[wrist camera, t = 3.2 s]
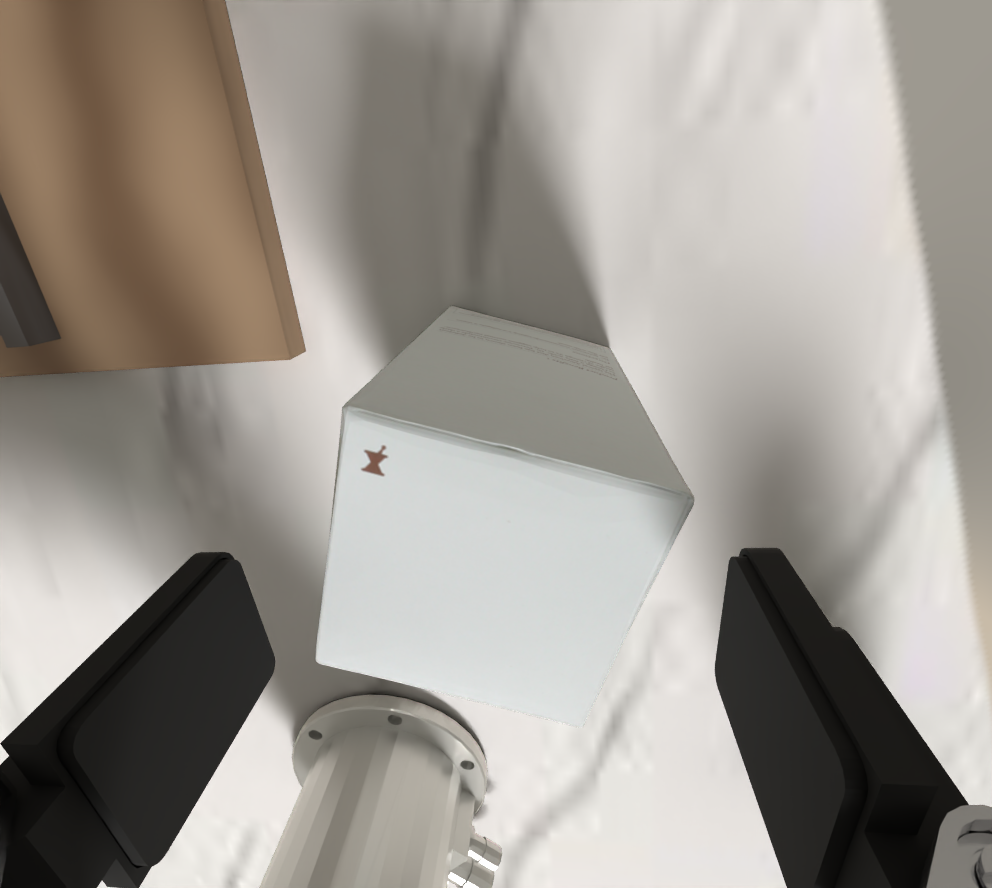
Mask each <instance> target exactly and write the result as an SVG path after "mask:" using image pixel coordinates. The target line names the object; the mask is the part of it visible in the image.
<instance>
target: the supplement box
mask: <svg viewBox="0 0 992 888" xmlns="http://www.w3.org/2000/svg"><path fill="white" fill-rule="evenodd" d="M693 505H694V496H693V494H692V493H691V491H690V489H689V488H688V486H687V485H686V483H685V481H684V479H683V478H682V476H681V474H680V472H679V471H678V469H677V467H676V465H675V464H674V462H673V460H672V458H671V456H670V455H669V453H668V451H667V449H666V448H665V446H664V444H663V442H662V440H661V439H660V437H659V435H658V433H657V431H656V429H655V428H654V426H653V424H652V422H651V421H650V419H649V417H648V415H647V413H646V411H645V409H644V408H643V406H642V404H641V402H640V400H639V399H638V397H637V395H636V393H635V391H634V390H633V388H632V386H631V384H630V383H629V381H628V379H627V377H626V375H625V374H624V372H623V370H622V368H621V366H620V365H619V363H618V361H617V359H616V358H615V356H614V354H613V352H612V350H611V349H610V348H608V347H605V346H601V345H598V344H595V343H591V342H588V341H584V340H581V339H577V338H574V337H570V336H566V335H562V334H559V333H555V332H551V331H547V330H543V329H539V328H536V327H532V326H528V325H524V324H520V323H516V322H512V321H509V320H505V319H501V318H497V317H493V316H489V315H485V314H481V313H478V312H474V311H470V310H466V309H462V308H458V307H455V306H450V307H449V308H448V309H447V310H446V311H445V312H443V313H442V314H441V315H440V316H439V317H438V318H437V319H436V320H435V321H434V322H433V323H432V324H431V325H430V326H429V327H427V328H426V329H425V330H424V331H423V332H422V333H421V334H420V335H419V336H418V337H417V338H416V339H415V340H413V341H412V342H411V343H410V344H409V345H408V346H407V347H406V348H405V349H404V350H403V351H402V352H401V353H400V354H399V355H398V356H396V357H395V358H394V359H393V360H392V361H391V362H390V363H389V364H388V365H387V366H386V367H385V368H384V369H382V370H381V371H380V372H379V373H378V374H377V375H376V376H375V377H374V378H373V379H372V380H371V381H370V382H369V383H367V384H366V385H365V386H364V387H363V388H362V389H361V390H360V391H359V392H358V393H357V394H355V395H354V396H353V397H352V398H351V399H350V400H349V401H348V402H347V403H346V404H345V405H344V406H343V407H342V417H341V429H340V440H339V450H338V460H337V470H336V479H335V489H334V498H333V508H332V518H331V528H330V538H329V547H328V555H327V563H326V571H325V579H324V587H323V596H322V604H321V612H320V619H319V628H318V635H317V644H316V655H315V660H316V661H317V662H318V663H319V664H322V665H326V666H330V667H334V668H338V669H342V670H347V671H352V672H356V673H360V674H365V675H369V676H373V677H377V678H381V679H386V680H390V681H394V682H398V683H402V684H406V685H410V686H414V687H418V688H422V689H426V690H430V691H434V692H438V693H442V694H447V695H451V696H455V697H459V698H463V699H467V700H471V701H475V702H479V703H483V704H487V705H491V706H495V707H499V708H503V709H507V710H511V711H515V712H519V713H523V714H527V715H531V716H535V717H539V718H543V719H547V720H551V721H555V722H559V723H562V724H566V725H570V726H574V727H578V728H581V727H584V724H585V722H586V720H587V718H588V716H589V713H590V711H591V709H592V707H593V705H594V703H595V701H596V699H597V697H598V694H599V692H600V690H601V688H602V686H603V684H604V682H605V680H606V677H607V675H608V673H609V671H610V669H611V667H612V665H613V663H614V660H615V658H616V656H617V654H618V652H619V650H620V648H621V646H622V643H623V641H624V639H625V637H626V635H627V633H628V631H629V629H630V627H631V625H632V623H633V621H634V619H635V617H636V616H637V614H638V612H639V610H640V608H641V606H642V604H643V602H644V600H645V598H646V596H647V594H648V592H649V590H650V588H651V586H652V584H653V582H654V580H655V579H656V577H657V575H658V573H659V571H660V569H661V567H662V565H663V563H664V561H665V559H666V557H667V555H668V553H669V551H670V549H671V547H672V545H673V543H674V541H675V539H676V537H677V535H678V533H679V531H680V529H681V528H682V526H683V524H684V522H685V520H686V518H687V516H688V514H689V512H690V510H691V509H692V507H693Z"/></svg>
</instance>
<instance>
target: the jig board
mask: <svg viewBox="0 0 992 888" xmlns="http://www.w3.org/2000/svg"><path fill="white" fill-rule="evenodd" d="M305 351H306V350H305V346H304V341H303V337H302V333H301V328H300V324H299V320H298V315H297V311H296V307H295V302H294V298H293V294H292V289H291V285H290V281H289V276H288V272H287V268H286V263H285V259H284V255H283V250H282V246H281V242H280V237H279V233H278V229H277V224H276V220H275V216H274V211H273V207H272V203H271V198H270V194H269V190H268V185H267V181H266V177H265V172H264V168H263V164H262V159H261V155H260V151H259V146H258V142H257V138H256V133H255V129H254V125H253V120H252V116H251V112H250V107H249V103H248V99H247V94H246V90H245V86H244V81H243V77H242V73H241V68H240V64H239V60H238V55H237V51H236V47H235V42H234V38H233V34H232V29H231V25H230V21H229V16H228V12H227V8H226V3H225V0H0V377H9V376H26V375H42V374H59V373H76V372H92V371H109V370H126V369H142V368H159V367H175V366H192V365H209V364H225V363H242V362H259V361H275V360H290V359H292V358H294V357H296V356H298V355H300V354H302V353H304V352H305Z"/></svg>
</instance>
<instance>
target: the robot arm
mask: <svg viewBox="0 0 992 888" xmlns="http://www.w3.org/2000/svg"><path fill="white" fill-rule="evenodd" d="M274 667H275V657H274V654H273V651H272V648H271V646H270V643H269V640H268V637H267V635H266V632H265V629H264V626H263V624H262V621H261V618H260V615H259V613H258V610H257V607H256V604H255V602H254V599H253V596H252V593H251V591H250V588H249V585H248V582H247V580H246V577H245V574H244V571H243V569H242V566H241V564H240V562H239V561H237V560H234V558H233V556H232V555H231V554H230V553H226V552H200V553H196V554H195V555H193V556H192V557H191V558H190V559H189V560H188V561H187V562H186V563H185V564H184V565H183V566H181V567H180V568H179V569H178V570H177V571H176V572H175V573H174V574H173V575H172V576H171V577H170V578H169V579H168V580H167V581H166V582H165V583H164V584H163V585H162V586H161V587H160V588H159V589H158V590H157V591H156V592H155V593H154V594H153V595H152V596H151V597H150V598H149V599H148V600H147V601H146V602H145V603H144V604H143V605H142V606H141V607H139V608H138V609H137V610H136V611H135V612H134V613H133V614H132V615H131V616H130V617H129V618H128V619H127V620H126V621H125V622H124V623H123V624H122V625H121V626H120V627H119V628H118V629H117V630H116V631H115V632H114V633H113V634H112V635H111V636H110V637H109V638H108V639H107V640H106V641H105V642H104V643H103V644H102V645H101V646H100V647H99V648H98V649H96V650H95V651H94V652H93V653H92V654H91V655H90V656H89V657H88V658H87V659H86V660H85V661H84V662H83V663H82V664H81V665H80V666H79V667H78V668H77V669H76V670H75V671H74V672H73V673H72V674H71V675H70V676H69V677H68V678H67V679H66V680H65V681H64V682H63V683H62V684H61V685H60V686H59V687H58V688H57V689H56V690H54V691H53V692H52V693H51V694H50V695H49V696H48V697H47V698H46V699H45V700H44V701H43V702H42V703H41V704H40V705H39V706H38V707H37V708H36V709H35V710H34V711H33V712H32V713H31V714H30V715H29V716H28V717H27V718H26V719H25V720H24V721H23V722H22V723H21V724H20V725H19V726H18V727H17V728H16V729H15V730H14V731H12V732H11V733H10V734H9V735H8V736H7V737H6V738H5V739H4V740H3V741H2V742H1V743H0V744H1V745H2V747H3V748H4V749H5V751H6V752H7V753H8V755H9V757H8V758H7V759H6V760H5V761H4V762H3V763H2V764H1V765H0V888H97V887H98V885H99V884H100V882H101V881H102V880H103V882H104V883H105V884H106V886H107V887H117V888H139V887H140V885H141V883H142V882H143V880H144V878H145V877H146V875H147V874H148V872H149V870H150V869H151V867H152V866H154V865H156V864H157V863H159V862H160V861H161V860H162V859H163V857H164V856H165V854H166V853H167V852H168V850H169V848H170V846H171V845H172V843H173V841H174V840H175V838H176V836H177V835H178V833H179V831H180V830H181V828H182V826H183V825H184V823H185V821H186V820H187V818H188V816H189V814H190V813H191V811H192V809H193V808H194V806H195V804H196V803H197V801H198V799H199V798H200V796H201V794H202V793H203V791H204V789H205V788H206V786H207V784H208V782H209V781H210V779H211V777H212V776H213V774H214V772H215V771H216V769H217V767H218V766H219V764H220V762H221V761H222V759H223V757H224V756H225V754H226V752H227V751H228V749H229V747H230V745H231V744H232V742H233V740H234V739H235V737H236V735H237V734H238V732H239V730H240V729H241V727H242V725H243V724H244V722H245V720H246V719H247V717H248V715H249V713H250V712H251V710H252V708H253V707H254V705H255V703H256V702H257V700H258V698H259V697H260V695H261V693H262V692H263V690H264V688H265V687H266V685H267V683H268V681H269V680H270V678H271V676H272V674H273V671H274ZM715 677H716V682H717V686H718V690H719V692H720V695H721V698H722V701H723V704H724V707H725V710H726V713H727V716H728V718H729V721H730V724H731V727H732V730H733V733H734V736H735V739H736V742H737V744H738V747H739V750H740V753H741V756H742V759H743V762H744V765H745V768H746V770H747V773H748V776H749V779H750V782H751V785H752V788H753V791H754V794H755V796H756V799H757V802H758V805H759V808H760V811H761V814H762V817H763V820H764V822H765V825H766V828H767V831H768V834H769V837H770V840H771V843H772V845H773V848H774V851H775V854H776V857H777V860H778V863H779V866H780V869H781V871H782V874H783V877H784V880H785V883H786V886H787V888H992V807H989V806H985V805H969V804H968V803H967V801H966V800H965V798H964V797H963V796H962V794H961V793H960V791H959V790H958V788H957V787H956V785H955V784H954V783H953V781H952V780H951V778H950V777H949V775H948V774H947V773H946V771H945V770H944V768H943V767H942V765H941V764H940V763H939V761H938V760H937V758H936V757H935V755H934V754H933V753H932V751H931V750H930V748H929V747H928V745H927V744H926V742H925V741H924V740H923V738H922V737H921V735H920V734H919V732H918V731H917V730H916V728H915V727H914V725H913V724H912V722H911V721H910V720H909V718H908V717H907V715H906V714H905V712H904V711H903V710H902V708H901V707H900V705H899V704H898V702H897V701H896V700H895V698H894V697H893V695H892V694H891V692H890V691H889V689H888V688H887V687H886V685H885V684H884V682H883V681H882V679H881V678H880V677H879V675H878V674H877V672H876V671H875V669H874V668H873V667H872V665H871V664H870V662H869V661H868V659H867V658H866V657H865V655H864V654H863V652H862V651H861V649H860V648H859V646H858V645H857V644H856V642H855V641H854V639H853V638H852V637H851V636H850V635H849V634H848V632H847V631H845V630H843V629H842V628H840V627H832V626H831V624H830V623H829V621H828V620H827V618H826V617H825V615H824V614H823V612H822V611H821V609H820V608H819V606H818V605H817V603H816V602H815V600H814V599H813V597H812V596H811V594H810V593H809V591H808V590H807V588H806V587H805V585H804V584H803V582H802V581H801V579H800V578H799V576H798V575H797V573H796V572H795V570H794V569H793V567H792V566H791V564H790V563H789V561H788V560H787V558H786V557H785V555H784V554H783V552H782V551H781V550H780V549H778V548H744V549H742V550H741V552H740V555H739V557H731V558H730V560H729V565H728V572H727V580H726V587H725V595H724V602H723V609H722V617H721V624H720V631H719V639H718V646H717V654H716V661H715ZM292 762H293V769H294V772H295V774H296V776H297V779H298V781H299V783H300V785H301V786H302V790H301V792H300V794H299V796H298V799H297V801H296V803H295V806H294V808H293V810H292V813H291V815H290V817H289V820H288V822H287V824H286V827H285V829H284V831H283V834H282V836H281V838H280V841H279V843H278V845H277V848H276V850H275V852H274V855H273V857H272V859H271V861H270V864H269V866H268V868H267V871H266V873H265V875H264V878H263V880H262V882H261V885H260V887H259V888H447V884H448V881H449V882H451V883H453V884H455V885H456V887H458V888H492V885H493V880H494V871H495V870H496V869H497V868H498V866H499V864H500V862H501V857H502V848H501V847H500V846H499V845H498V844H496V843H494V842H493V841H491V840H489V839H488V838H486V837H482V836H480V835H478V834H477V833H475V829H474V826H473V825H472V820H473V815H475V814H476V813H477V811H478V810H479V808H480V806H481V805H482V803H483V801H484V797H485V793H486V787H487V774H488V770H487V765H486V760H485V757H484V755H483V753H482V751H481V749H480V746H479V745H478V744H477V742H476V741H475V740H474V738H473V737H472V736H471V735H470V733H468V732H467V731H466V730H465V729H464V728H463V727H462V726H461V725H460V724H458V723H457V722H456V721H455V720H453V719H452V718H450V717H448V716H447V715H445V714H444V713H442V712H440V711H438V710H436V709H434V708H432V707H430V706H427V705H425V704H423V703H419V702H416V701H413V700H409V699H406V698H401V697H395V696H388V695H360V696H352V697H347V698H343V699H340V700H337V701H333V702H331V703H329V704H327V705H325V706H323V707H321V708H319V709H318V710H317V711H316V712H315V713H313V714H312V715H311V716H310V717H309V718H308V719H307V721H306V722H305V724H304V725H303V727H302V728H301V730H300V732H299V735H298V737H297V739H296V741H295V744H294V746H293V753H292Z"/></svg>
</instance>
